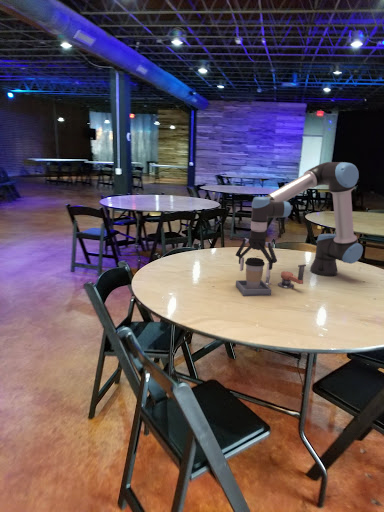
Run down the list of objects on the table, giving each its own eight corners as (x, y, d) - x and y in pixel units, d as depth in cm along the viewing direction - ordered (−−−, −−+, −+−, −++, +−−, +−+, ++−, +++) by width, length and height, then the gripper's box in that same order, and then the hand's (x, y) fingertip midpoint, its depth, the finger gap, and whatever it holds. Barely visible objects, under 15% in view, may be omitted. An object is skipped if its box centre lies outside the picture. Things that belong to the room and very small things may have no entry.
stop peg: (269, 282, 182) (270, 270, 180) (272, 284, 178) (273, 272, 176) (262, 282, 181) (263, 270, 179) (264, 284, 177) (266, 272, 176)
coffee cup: (262, 293, 163) (265, 263, 159) (242, 291, 165) (244, 261, 161) (262, 286, 172) (265, 258, 168) (243, 284, 174) (245, 256, 170)
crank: (278, 276, 178) (280, 259, 175) (286, 275, 180) (288, 258, 178) (297, 284, 166) (299, 266, 164) (305, 283, 169) (308, 264, 167)
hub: (289, 282, 182) (290, 275, 181) (296, 288, 174) (297, 280, 173) (275, 283, 181) (276, 275, 180) (281, 288, 173) (282, 281, 172)
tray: (261, 285, 176) (261, 280, 175) (270, 295, 163) (271, 289, 163) (235, 285, 174) (236, 280, 173) (243, 296, 161) (244, 290, 160)
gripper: (230, 227, 164) (227, 270, 169) (282, 235, 151) (276, 280, 157) (237, 225, 170) (234, 266, 175) (286, 232, 158) (281, 276, 163)
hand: (254, 273), depth 166 cm, fingers open, 13 cm apart
